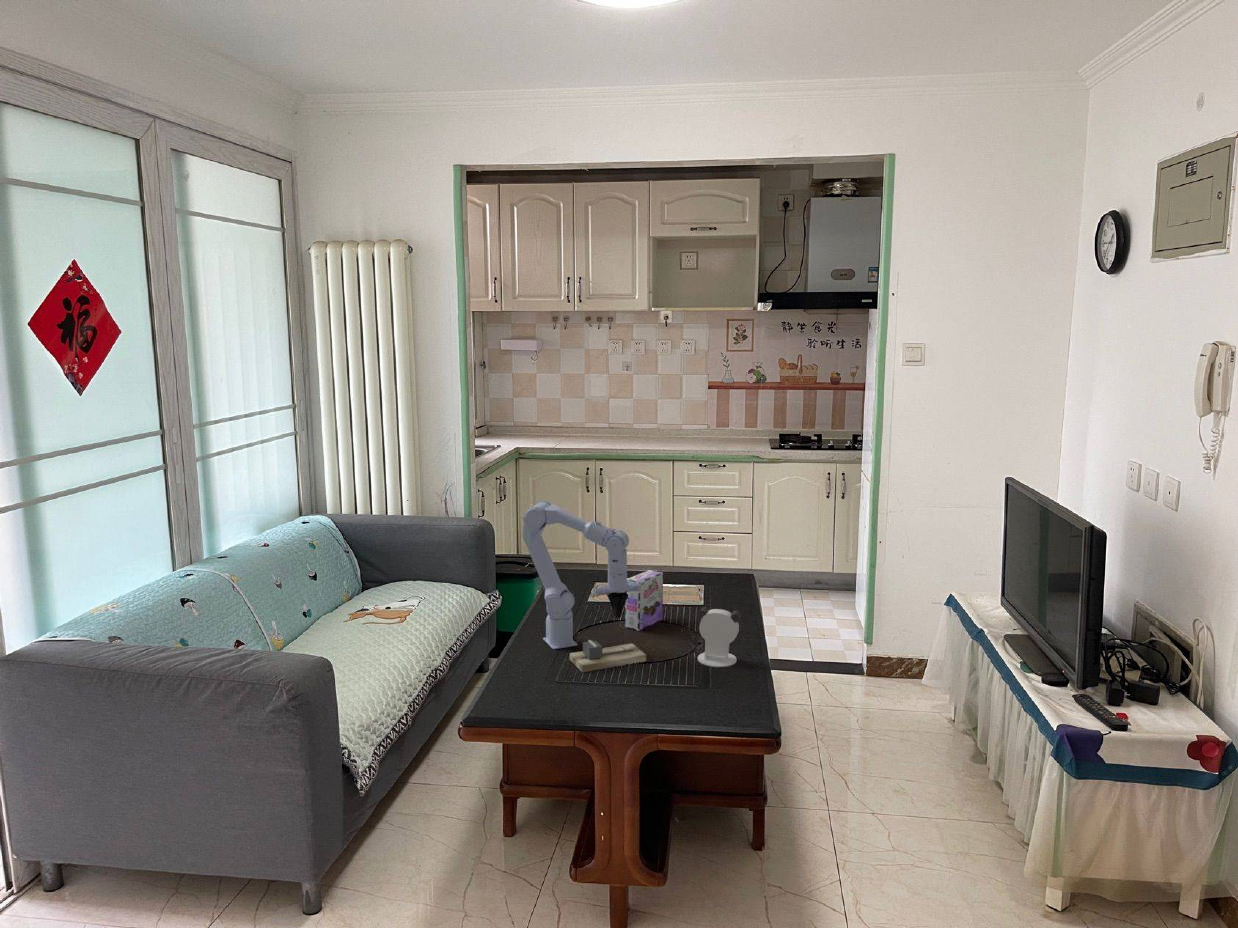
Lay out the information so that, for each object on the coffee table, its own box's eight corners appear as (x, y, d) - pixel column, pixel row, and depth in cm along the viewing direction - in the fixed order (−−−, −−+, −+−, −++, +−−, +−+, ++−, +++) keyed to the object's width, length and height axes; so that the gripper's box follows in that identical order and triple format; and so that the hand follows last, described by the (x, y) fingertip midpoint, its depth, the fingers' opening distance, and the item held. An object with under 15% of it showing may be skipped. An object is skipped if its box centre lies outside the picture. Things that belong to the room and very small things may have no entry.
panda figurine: (741, 654, 261) (742, 606, 259) (735, 669, 250) (737, 618, 248) (701, 650, 264) (702, 602, 262) (694, 664, 253) (695, 614, 251)
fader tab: (582, 652, 255) (582, 641, 255) (595, 650, 257) (595, 639, 256) (589, 658, 251) (589, 646, 250) (602, 656, 252) (602, 644, 252)
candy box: (638, 631, 280) (639, 581, 277) (624, 627, 283) (624, 578, 281) (663, 619, 291) (663, 571, 288) (648, 616, 294) (649, 568, 291)
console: (569, 659, 257) (569, 652, 256) (631, 649, 265) (631, 642, 264) (582, 672, 248) (582, 665, 247) (646, 661, 256) (646, 654, 255)
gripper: (599, 578, 254) (599, 623, 257) (645, 573, 260) (644, 617, 262) (590, 572, 261) (590, 616, 263) (635, 567, 267) (634, 609, 269)
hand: (617, 616), depth 263 cm, fingers closed
